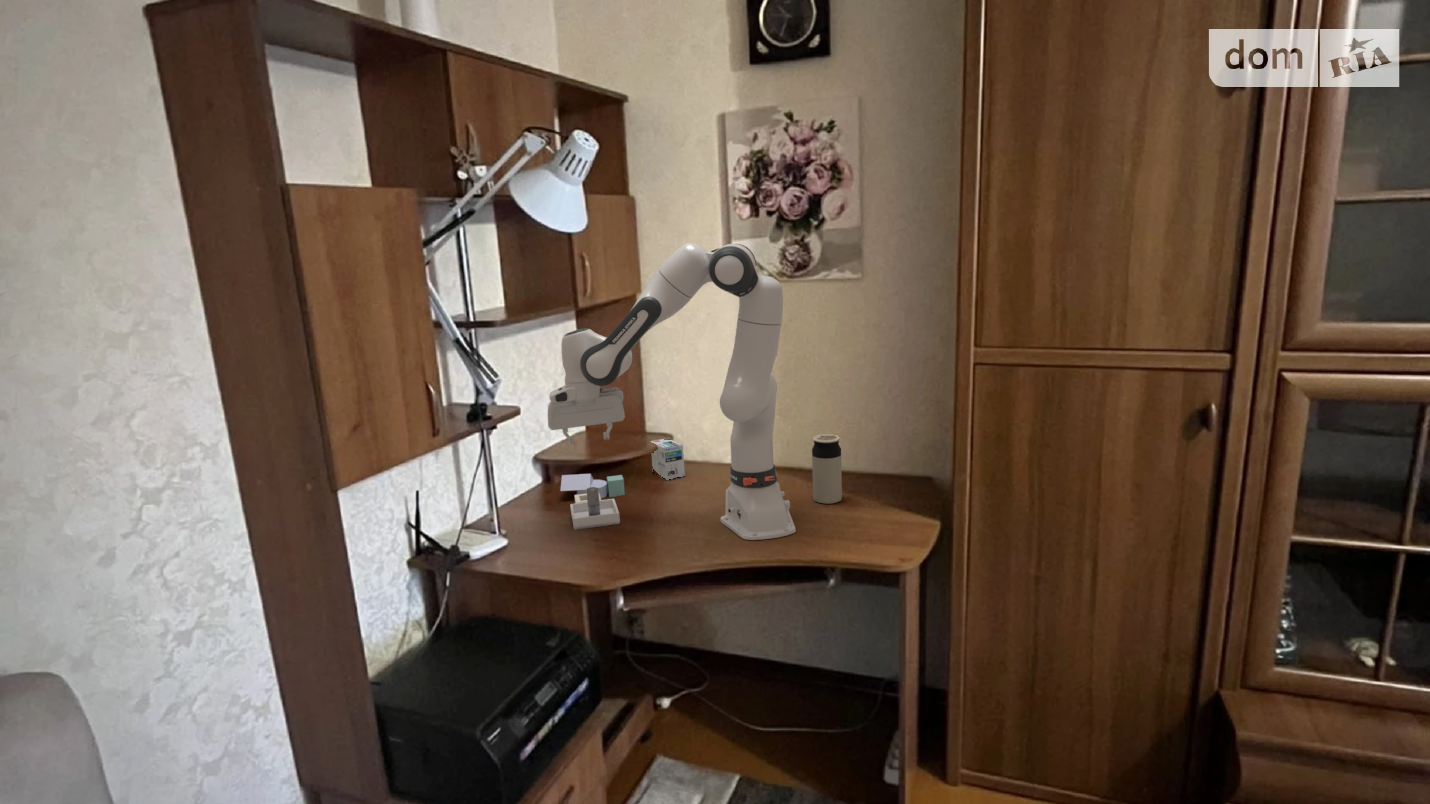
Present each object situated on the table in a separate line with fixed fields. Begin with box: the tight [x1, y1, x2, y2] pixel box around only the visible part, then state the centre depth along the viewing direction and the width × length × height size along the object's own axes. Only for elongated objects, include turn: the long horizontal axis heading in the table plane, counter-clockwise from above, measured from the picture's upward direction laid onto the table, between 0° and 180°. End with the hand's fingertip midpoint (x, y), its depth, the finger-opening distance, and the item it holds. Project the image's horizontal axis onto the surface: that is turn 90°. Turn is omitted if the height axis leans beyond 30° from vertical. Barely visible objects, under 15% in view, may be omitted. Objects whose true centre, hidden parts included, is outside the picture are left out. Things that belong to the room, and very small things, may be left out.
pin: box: [586, 487, 601, 516], centre depth 211 cm, size 3×3×8 cm
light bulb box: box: [649, 438, 686, 481], centre depth 246 cm, size 11×7×11 cm, turn 30°
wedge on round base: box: [560, 473, 609, 499], centre depth 231 cm, size 9×7×13 cm
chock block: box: [606, 474, 626, 498], centre depth 231 cm, size 4×4×5 cm
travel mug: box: [811, 433, 843, 505], centre depth 215 cm, size 8×8×18 cm
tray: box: [569, 498, 621, 531], centre depth 211 cm, size 12×12×3 cm
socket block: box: [574, 494, 602, 504], centre depth 220 cm, size 7×7×3 cm
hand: (589, 441), depth 207 cm, fingers open, 8 cm apart
